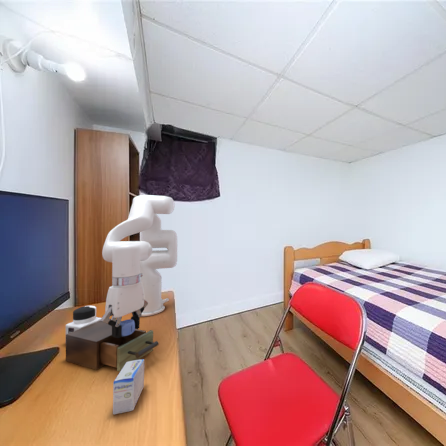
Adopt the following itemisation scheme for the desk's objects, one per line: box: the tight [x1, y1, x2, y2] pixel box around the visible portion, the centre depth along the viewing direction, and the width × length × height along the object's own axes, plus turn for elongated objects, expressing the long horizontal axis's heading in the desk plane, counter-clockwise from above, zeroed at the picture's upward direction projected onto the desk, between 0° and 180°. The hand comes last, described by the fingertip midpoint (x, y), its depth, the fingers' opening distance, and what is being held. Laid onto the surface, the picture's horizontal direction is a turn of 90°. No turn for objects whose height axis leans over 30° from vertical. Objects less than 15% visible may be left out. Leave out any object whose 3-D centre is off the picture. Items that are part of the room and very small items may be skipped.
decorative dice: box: [120, 318, 135, 336], centre depth 73 cm, size 4×4×4 cm
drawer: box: [99, 328, 160, 373], centre depth 73 cm, size 18×11×7 cm, turn 75°
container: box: [65, 305, 102, 335], centre depth 84 cm, size 8×8×13 cm
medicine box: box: [112, 358, 145, 416], centre depth 57 cm, size 8×4×9 cm, turn 20°
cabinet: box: [65, 318, 123, 371], centre depth 76 cm, size 15×13×9 cm
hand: (126, 332), depth 73 cm, fingers closed on decorative dice, 5 cm apart
